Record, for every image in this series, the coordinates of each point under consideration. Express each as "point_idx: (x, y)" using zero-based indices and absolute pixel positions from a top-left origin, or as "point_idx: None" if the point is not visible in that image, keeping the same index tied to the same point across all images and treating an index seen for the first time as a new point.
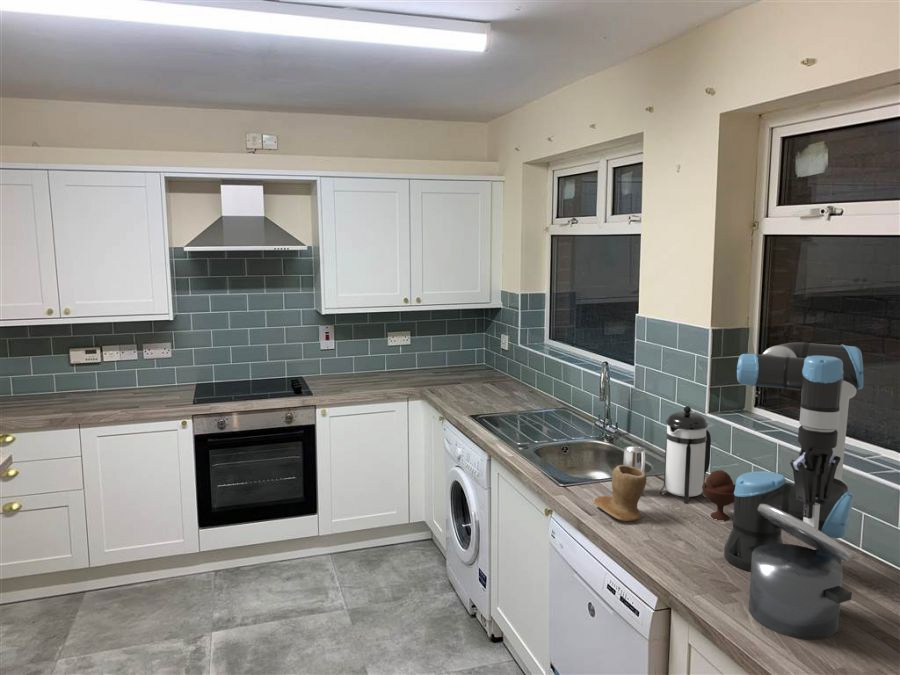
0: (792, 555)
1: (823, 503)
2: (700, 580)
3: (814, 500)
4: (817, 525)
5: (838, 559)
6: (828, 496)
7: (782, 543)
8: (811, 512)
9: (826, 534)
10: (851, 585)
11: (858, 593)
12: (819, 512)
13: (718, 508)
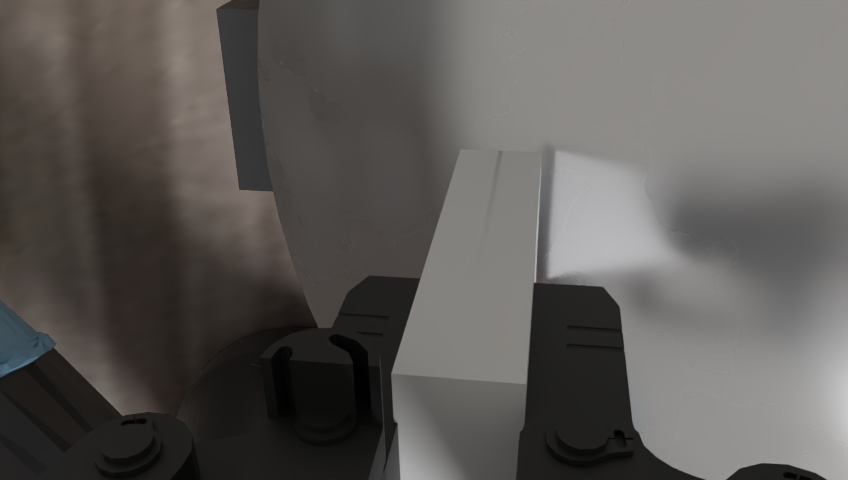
0: None
1: (327, 357)
2: None
3: (549, 472)
4: (468, 188)
5: (253, 7)
6: (106, 447)
7: (206, 438)
8: (548, 337)
9: (22, 320)
10: (53, 94)
11: (78, 21)
12: (357, 309)
13: None
